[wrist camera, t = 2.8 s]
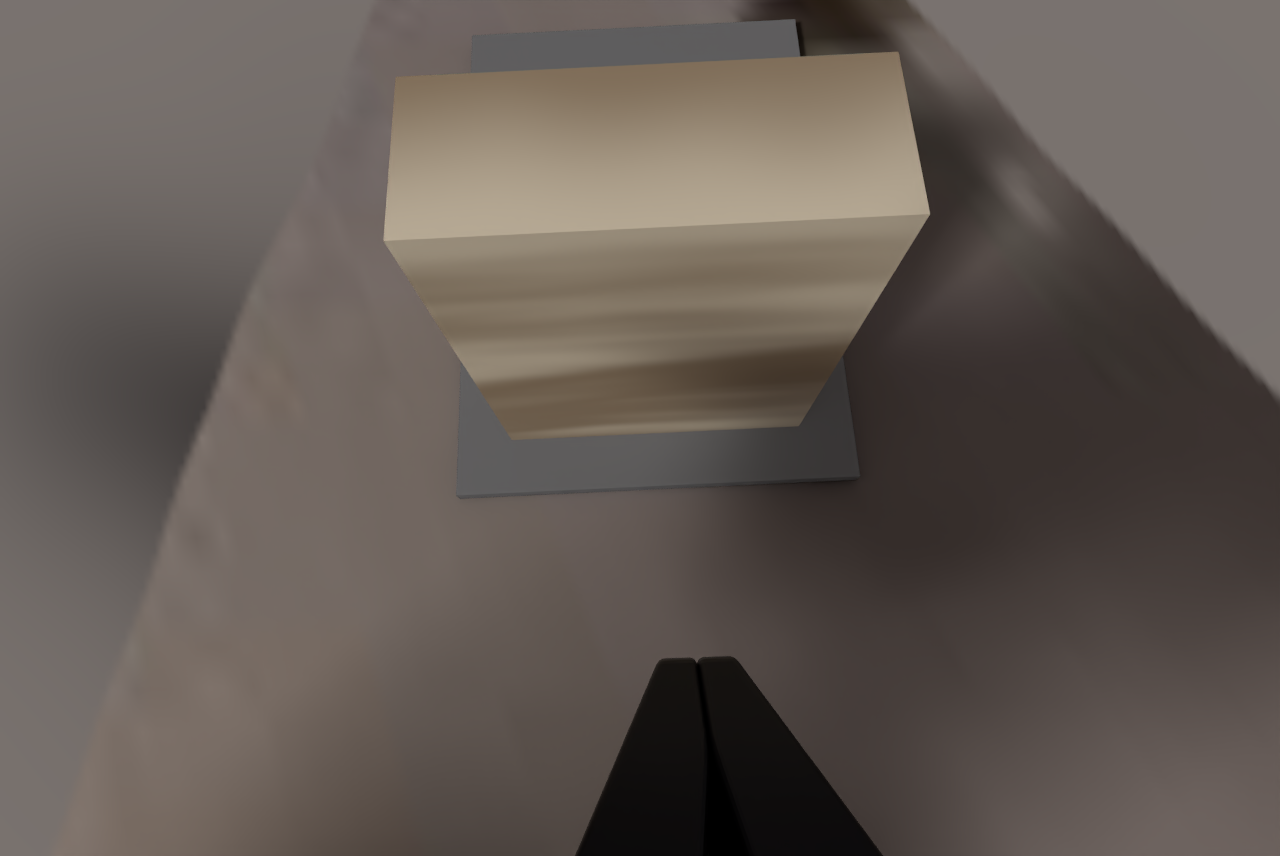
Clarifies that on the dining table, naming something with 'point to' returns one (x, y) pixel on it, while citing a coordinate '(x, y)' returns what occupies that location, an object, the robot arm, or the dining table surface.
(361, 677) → the dining table surface
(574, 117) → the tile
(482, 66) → the mat
